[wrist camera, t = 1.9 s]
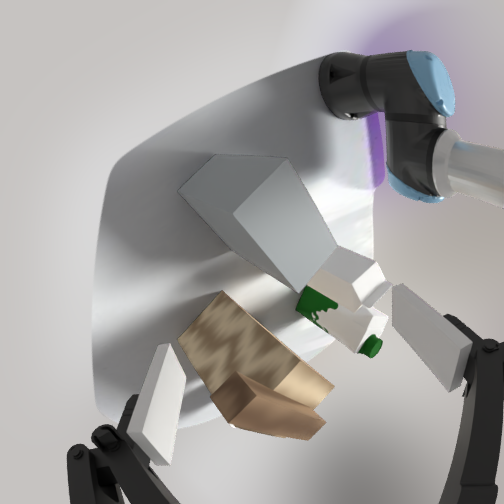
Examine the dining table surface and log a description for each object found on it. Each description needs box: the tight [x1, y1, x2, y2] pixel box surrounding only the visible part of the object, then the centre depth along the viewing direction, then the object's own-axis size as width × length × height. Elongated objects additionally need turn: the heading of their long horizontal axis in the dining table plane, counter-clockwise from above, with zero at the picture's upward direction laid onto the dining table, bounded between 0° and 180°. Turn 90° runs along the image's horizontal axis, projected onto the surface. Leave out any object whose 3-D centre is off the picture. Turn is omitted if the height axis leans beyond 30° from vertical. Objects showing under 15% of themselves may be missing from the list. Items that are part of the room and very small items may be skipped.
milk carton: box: [296, 285, 389, 358], centre depth 55 cm, size 9×9×20 cm
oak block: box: [177, 291, 334, 438], centre depth 44 cm, size 12×14×21 cm
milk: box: [306, 246, 393, 313], centre depth 45 cm, size 6×6×22 cm
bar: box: [210, 371, 326, 440], centre depth 31 cm, size 4×20×4 cm, turn 38°
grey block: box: [177, 154, 338, 294], centre depth 37 cm, size 8×14×17 cm, turn 38°
